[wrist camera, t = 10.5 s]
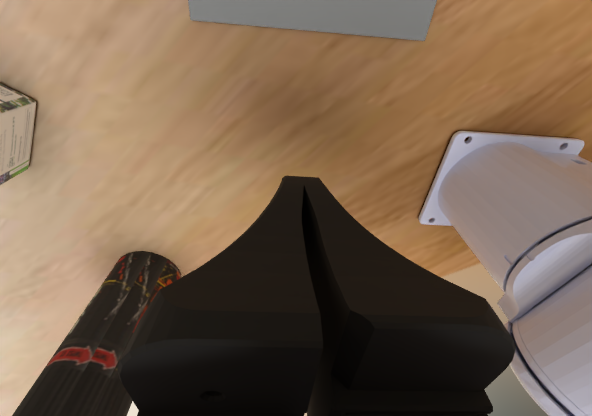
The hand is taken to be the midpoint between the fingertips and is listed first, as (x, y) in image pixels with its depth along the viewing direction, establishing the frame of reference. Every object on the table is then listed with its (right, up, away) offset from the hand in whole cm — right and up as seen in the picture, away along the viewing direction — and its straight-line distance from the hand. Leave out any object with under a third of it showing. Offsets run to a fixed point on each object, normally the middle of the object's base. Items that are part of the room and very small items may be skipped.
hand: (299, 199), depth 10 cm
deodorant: (-14, -7, +17) cm, 23 cm away
